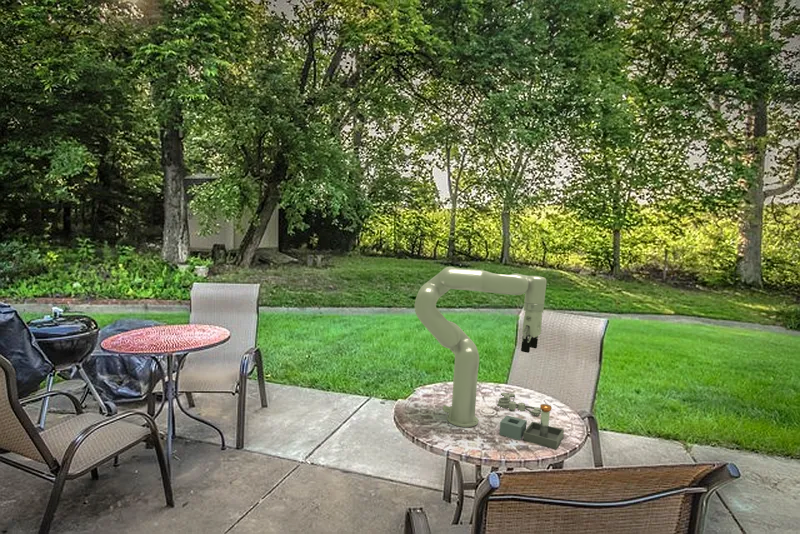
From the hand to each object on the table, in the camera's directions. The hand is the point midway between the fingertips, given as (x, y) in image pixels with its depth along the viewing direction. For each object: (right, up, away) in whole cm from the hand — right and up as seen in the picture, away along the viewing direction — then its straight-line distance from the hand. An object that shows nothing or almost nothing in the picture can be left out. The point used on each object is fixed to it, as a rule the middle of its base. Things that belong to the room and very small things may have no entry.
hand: (528, 349), depth 184 cm
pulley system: (0, -30, +26) cm, 40 cm away
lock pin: (+3, -32, -8) cm, 33 cm away
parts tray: (+3, -33, -8) cm, 34 cm away
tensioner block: (-8, -32, -5) cm, 33 cm away
